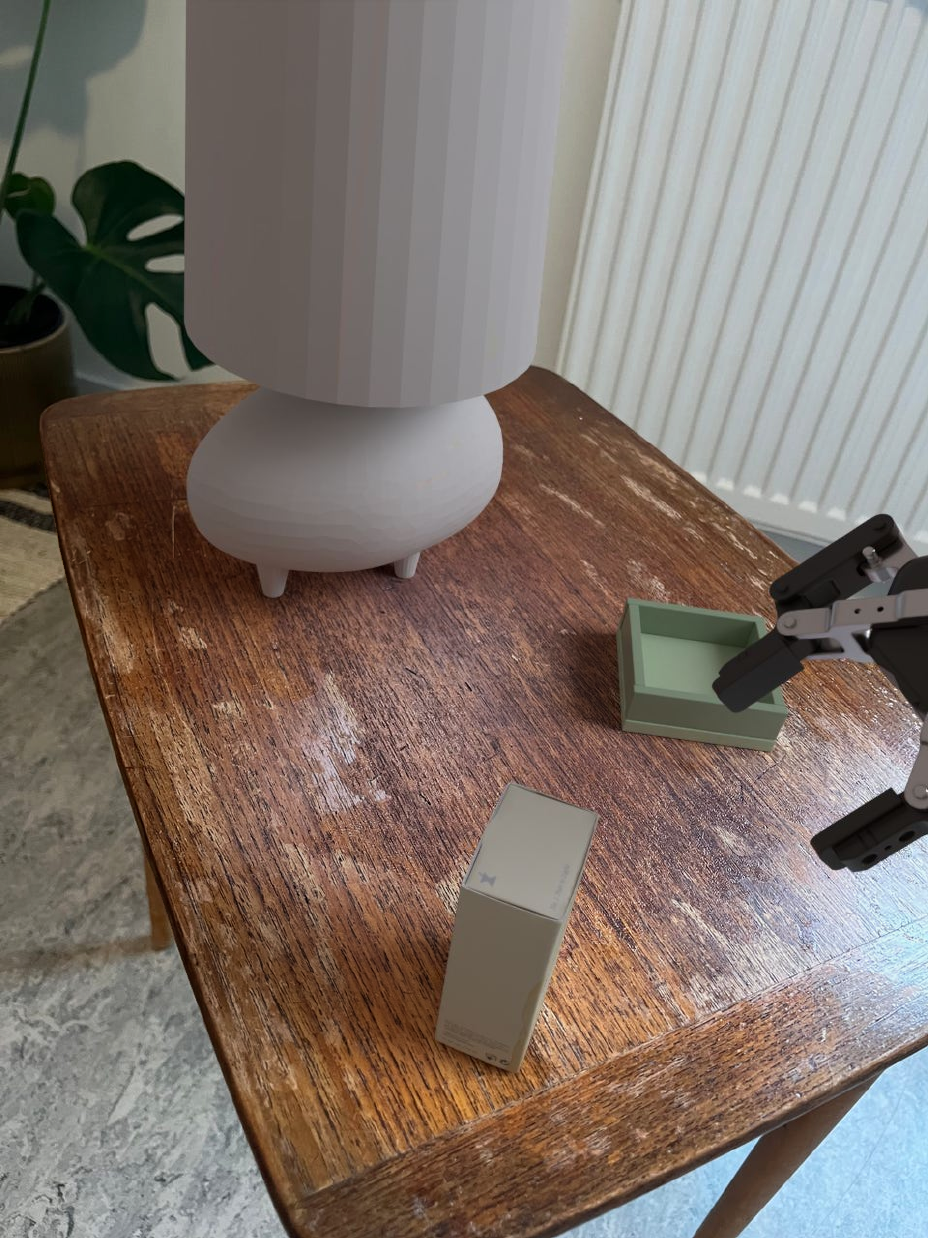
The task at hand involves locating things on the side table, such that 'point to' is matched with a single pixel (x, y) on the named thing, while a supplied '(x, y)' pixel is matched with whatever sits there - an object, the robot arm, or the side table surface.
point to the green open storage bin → (689, 675)
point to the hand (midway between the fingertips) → (768, 773)
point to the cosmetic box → (512, 924)
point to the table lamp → (362, 264)
